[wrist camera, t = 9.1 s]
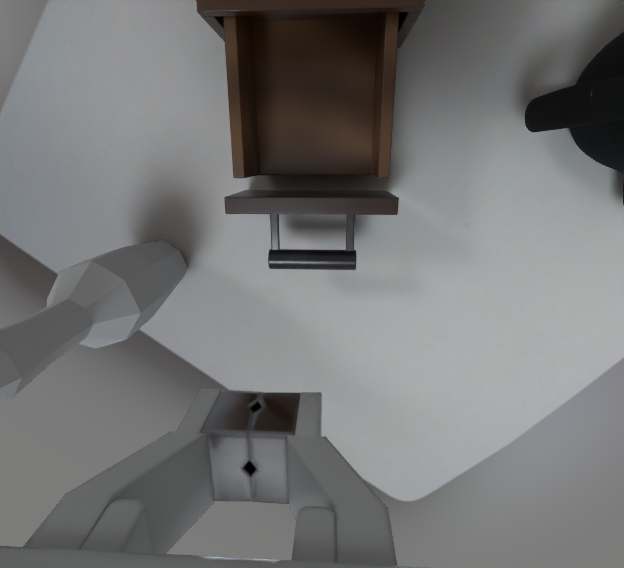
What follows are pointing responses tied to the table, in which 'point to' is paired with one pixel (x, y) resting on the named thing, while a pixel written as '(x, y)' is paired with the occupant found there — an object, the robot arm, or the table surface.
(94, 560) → the robot arm
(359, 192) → the drawer
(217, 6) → the cabinet
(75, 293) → the faceted bottle
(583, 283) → the table surface
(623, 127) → the mug
